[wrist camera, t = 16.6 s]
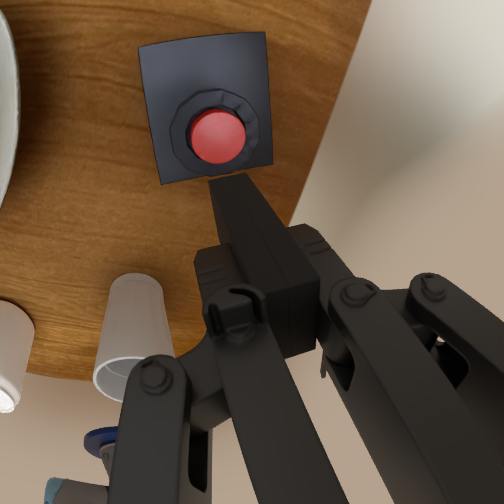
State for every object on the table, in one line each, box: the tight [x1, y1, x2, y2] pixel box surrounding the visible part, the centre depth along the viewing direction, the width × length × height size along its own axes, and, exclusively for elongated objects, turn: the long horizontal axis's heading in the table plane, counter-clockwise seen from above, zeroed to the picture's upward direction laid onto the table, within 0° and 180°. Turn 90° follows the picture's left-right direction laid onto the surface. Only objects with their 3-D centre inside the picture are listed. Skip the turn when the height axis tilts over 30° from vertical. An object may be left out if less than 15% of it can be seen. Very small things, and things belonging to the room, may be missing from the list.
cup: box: [93, 273, 175, 403], centre depth 29 cm, size 8×8×12 cm
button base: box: [138, 32, 273, 185], centre depth 23 cm, size 12×10×4 cm
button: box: [190, 109, 246, 164], centre depth 23 cm, size 4×4×2 cm
